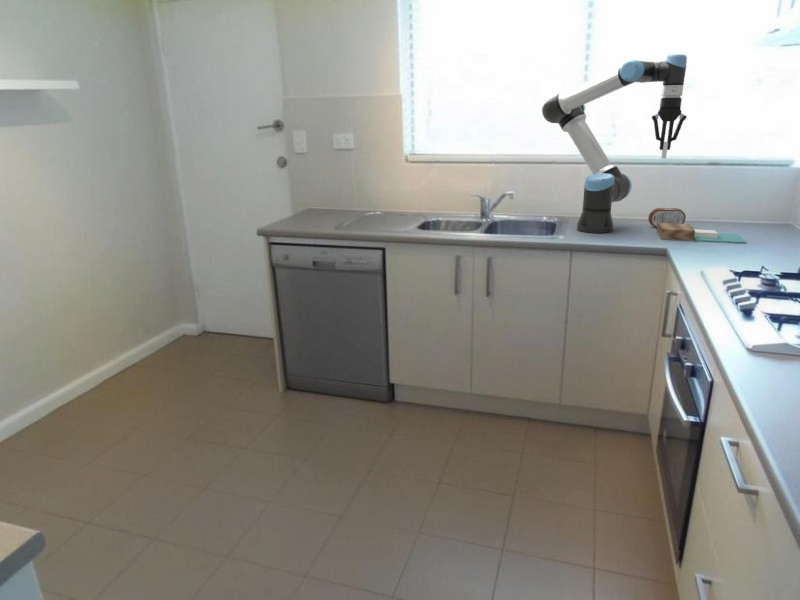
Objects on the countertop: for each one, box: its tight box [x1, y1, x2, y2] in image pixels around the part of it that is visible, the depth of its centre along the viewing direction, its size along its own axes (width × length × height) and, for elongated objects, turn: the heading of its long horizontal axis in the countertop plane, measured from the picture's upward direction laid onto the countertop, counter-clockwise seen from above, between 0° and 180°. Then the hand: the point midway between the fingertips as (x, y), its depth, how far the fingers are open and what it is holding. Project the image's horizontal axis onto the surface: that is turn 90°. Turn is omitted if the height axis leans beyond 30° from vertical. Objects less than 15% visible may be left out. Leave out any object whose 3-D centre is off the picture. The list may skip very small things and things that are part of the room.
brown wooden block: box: [656, 223, 695, 241], centre depth 234 cm, size 12×14×4 cm
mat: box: [694, 232, 748, 244], centre depth 230 cm, size 18×16×1 cm
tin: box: [648, 207, 687, 228], centre depth 251 cm, size 15×3×8 cm, turn 84°
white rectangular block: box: [693, 228, 719, 238], centre depth 231 cm, size 9×6×2 cm, turn 73°
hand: (663, 158), depth 234 cm, fingers closed
